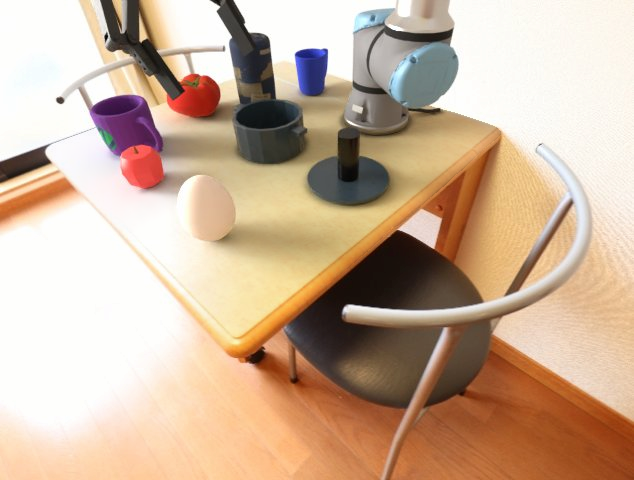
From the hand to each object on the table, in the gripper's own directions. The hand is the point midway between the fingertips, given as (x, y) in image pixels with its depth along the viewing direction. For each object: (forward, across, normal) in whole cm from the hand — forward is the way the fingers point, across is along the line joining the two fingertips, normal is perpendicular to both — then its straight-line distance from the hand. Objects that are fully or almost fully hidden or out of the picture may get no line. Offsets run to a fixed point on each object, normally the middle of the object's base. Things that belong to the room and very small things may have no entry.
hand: (217, 73), depth 49 cm
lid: (+27, -15, -4) cm, 31 cm away
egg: (+20, +10, -13) cm, 25 cm away
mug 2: (+14, -48, -32) cm, 60 cm away
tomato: (+3, -21, -46) cm, 50 cm away
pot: (+16, -18, -23) cm, 33 cm away
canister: (+10, -31, -37) cm, 49 cm away
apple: (+8, +6, -33) cm, 34 cm away
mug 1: (+3, -1, -42) cm, 43 cm away
